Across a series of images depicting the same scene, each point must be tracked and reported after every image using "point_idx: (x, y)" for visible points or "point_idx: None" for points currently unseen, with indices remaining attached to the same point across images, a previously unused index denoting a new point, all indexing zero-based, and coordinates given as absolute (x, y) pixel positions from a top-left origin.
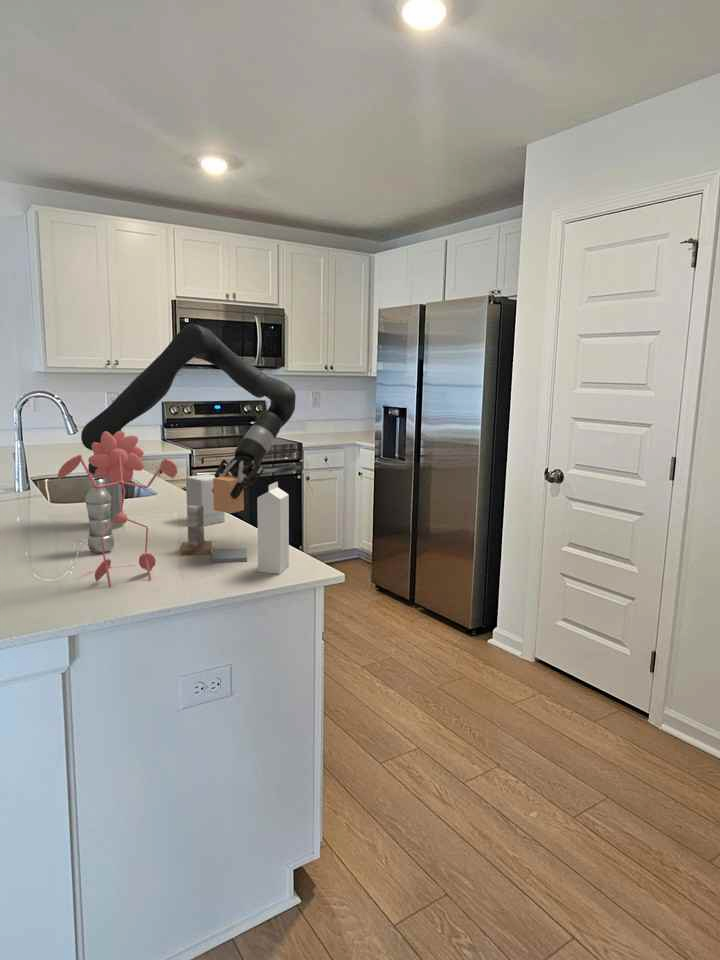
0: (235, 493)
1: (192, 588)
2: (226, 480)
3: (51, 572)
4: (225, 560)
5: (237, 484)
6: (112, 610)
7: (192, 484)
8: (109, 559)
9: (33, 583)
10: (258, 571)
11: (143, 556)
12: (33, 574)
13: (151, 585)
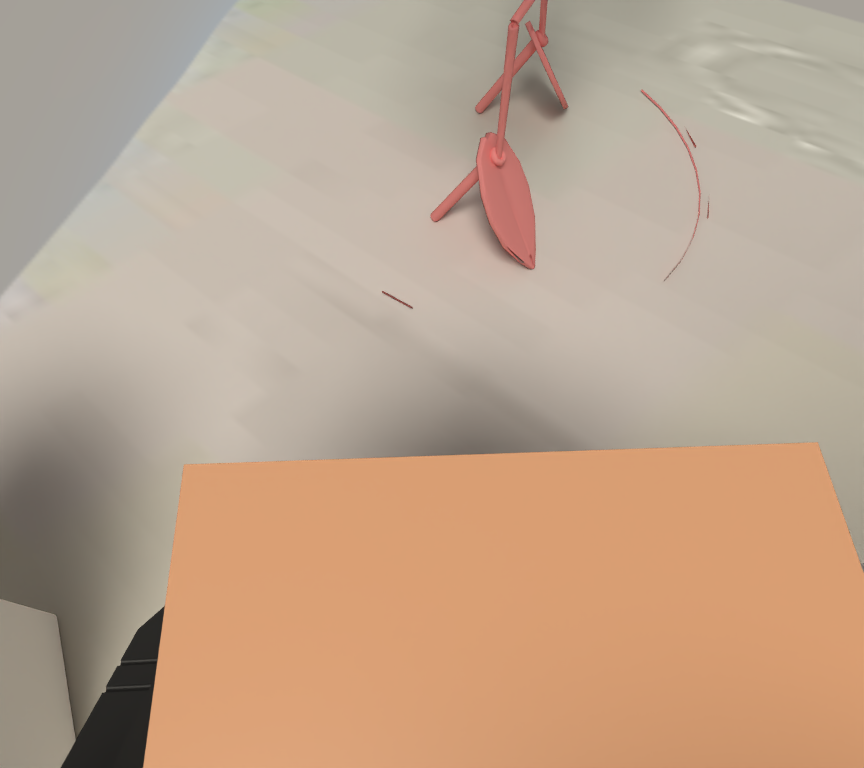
0: (154, 615)
1: (203, 255)
2: (308, 466)
3: (787, 85)
4: None
5: (130, 748)
6: (280, 28)
7: None
8: (534, 40)
9: (698, 20)
10: (52, 615)
11: (493, 147)
12: (800, 51)
13: (375, 190)
